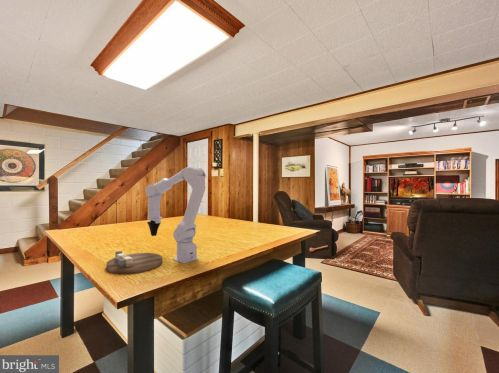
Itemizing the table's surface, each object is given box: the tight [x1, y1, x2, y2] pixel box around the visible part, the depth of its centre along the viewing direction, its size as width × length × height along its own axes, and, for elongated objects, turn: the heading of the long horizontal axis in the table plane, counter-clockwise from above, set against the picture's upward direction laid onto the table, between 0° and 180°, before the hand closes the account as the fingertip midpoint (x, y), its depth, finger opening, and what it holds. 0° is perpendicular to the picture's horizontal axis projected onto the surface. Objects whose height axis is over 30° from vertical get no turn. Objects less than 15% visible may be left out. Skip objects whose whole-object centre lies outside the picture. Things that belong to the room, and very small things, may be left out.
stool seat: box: [105, 252, 163, 275], centre depth 103 cm, size 22×22×5 cm
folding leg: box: [114, 250, 133, 267], centre depth 99 cm, size 13×3×4 cm, turn 48°
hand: (153, 235), depth 119 cm, fingers closed
